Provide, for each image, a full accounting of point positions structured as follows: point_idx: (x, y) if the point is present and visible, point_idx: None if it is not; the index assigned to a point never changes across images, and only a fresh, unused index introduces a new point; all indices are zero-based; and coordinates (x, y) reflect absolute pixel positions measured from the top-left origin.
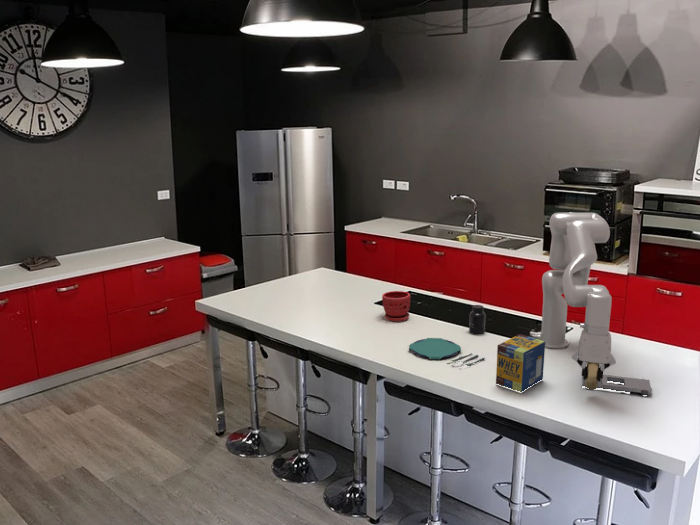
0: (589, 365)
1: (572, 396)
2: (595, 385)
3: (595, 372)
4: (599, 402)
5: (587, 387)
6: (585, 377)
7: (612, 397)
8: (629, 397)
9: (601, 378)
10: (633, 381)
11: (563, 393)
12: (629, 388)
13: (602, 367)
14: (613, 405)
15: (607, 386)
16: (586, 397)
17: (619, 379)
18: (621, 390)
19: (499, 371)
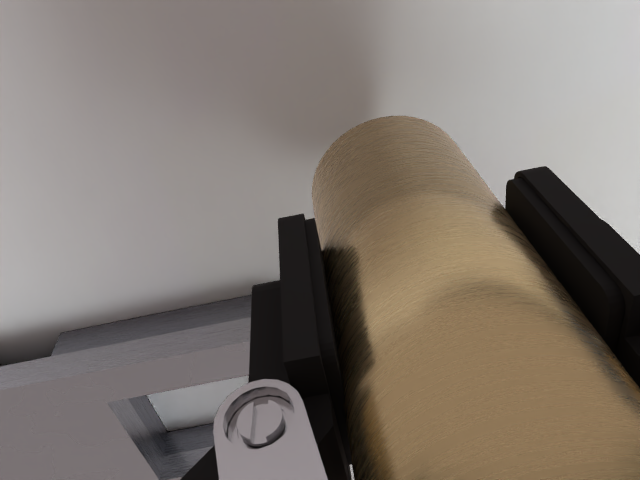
0: (628, 406)
1: (544, 34)
2: (336, 168)
3: (399, 298)
4: (245, 30)
5: (431, 123)
6: (531, 192)
7: (165, 216)
8: (37, 286)
9: (272, 282)
10: (79, 477)
11: (635, 62)
12: (50, 376)
13: (267, 466)
14: (82, 32)
15: (242, 332)
16: (397, 88)
17: (194, 464)
18: (123, 339)
19: None
